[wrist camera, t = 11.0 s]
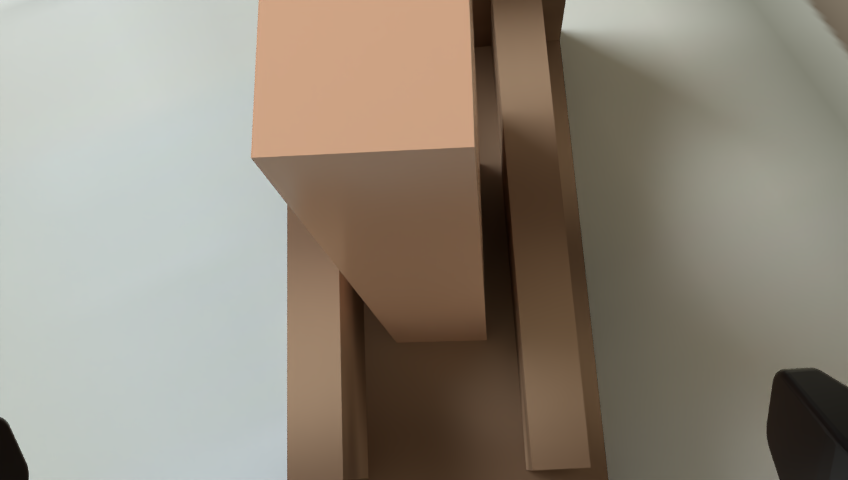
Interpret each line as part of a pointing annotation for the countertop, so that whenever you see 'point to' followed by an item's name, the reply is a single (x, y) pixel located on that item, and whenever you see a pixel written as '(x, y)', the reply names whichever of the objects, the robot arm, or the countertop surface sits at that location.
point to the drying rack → (505, 309)
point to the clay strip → (380, 151)
